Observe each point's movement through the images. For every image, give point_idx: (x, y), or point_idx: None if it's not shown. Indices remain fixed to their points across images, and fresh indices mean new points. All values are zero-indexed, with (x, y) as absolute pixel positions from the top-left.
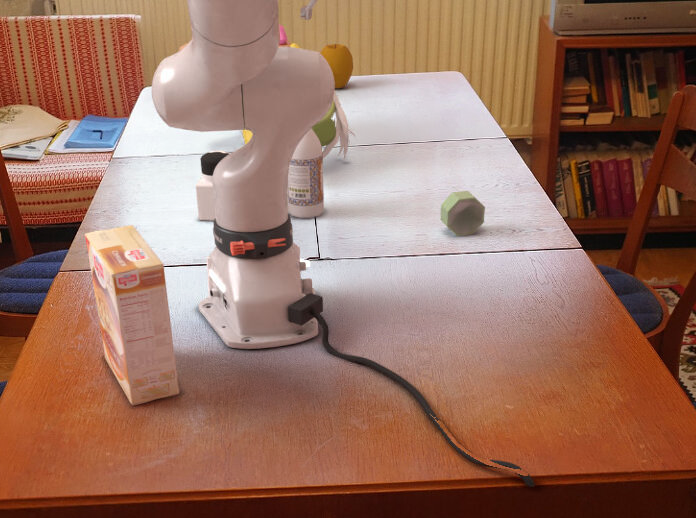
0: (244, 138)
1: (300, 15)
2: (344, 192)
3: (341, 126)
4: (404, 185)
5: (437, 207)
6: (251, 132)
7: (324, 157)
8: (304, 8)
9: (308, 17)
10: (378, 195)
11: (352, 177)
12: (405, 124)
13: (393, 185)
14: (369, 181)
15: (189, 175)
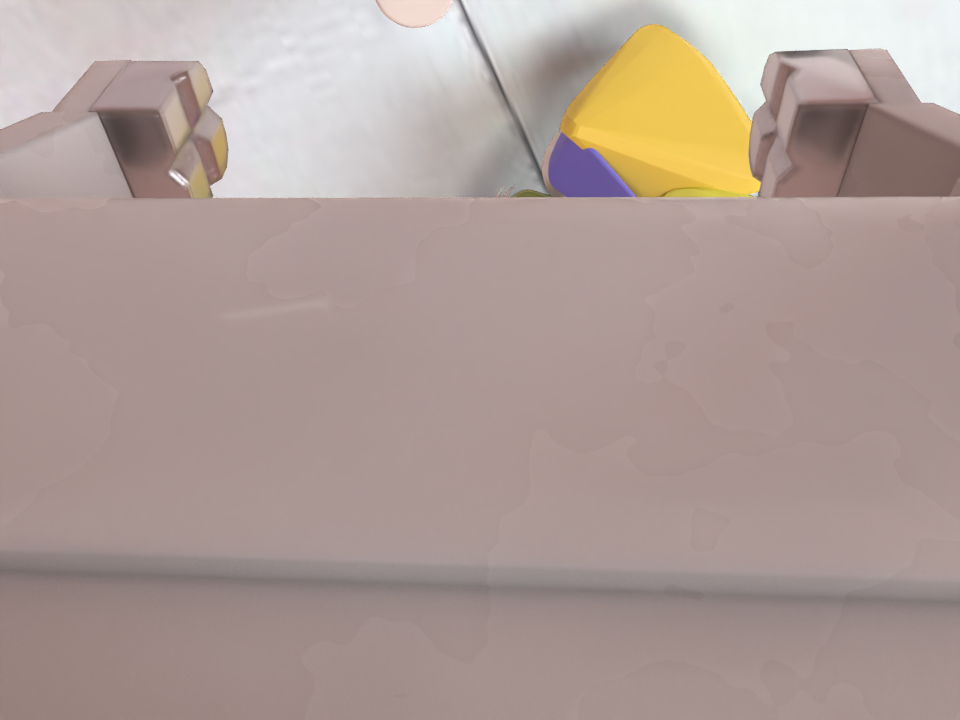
0: (750, 123)
1: (183, 67)
2: (366, 45)
3: None
4: (228, 152)
5: (21, 18)
6: (729, 139)
7: (496, 195)
8: (119, 124)
9: (92, 70)
10: (253, 55)
11: (401, 162)
12: None
13: (257, 142)
14: (339, 149)
15: (913, 25)
